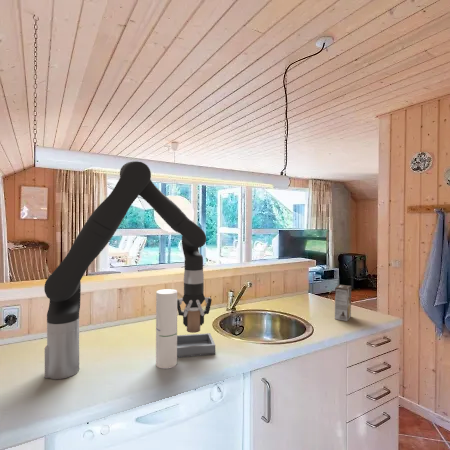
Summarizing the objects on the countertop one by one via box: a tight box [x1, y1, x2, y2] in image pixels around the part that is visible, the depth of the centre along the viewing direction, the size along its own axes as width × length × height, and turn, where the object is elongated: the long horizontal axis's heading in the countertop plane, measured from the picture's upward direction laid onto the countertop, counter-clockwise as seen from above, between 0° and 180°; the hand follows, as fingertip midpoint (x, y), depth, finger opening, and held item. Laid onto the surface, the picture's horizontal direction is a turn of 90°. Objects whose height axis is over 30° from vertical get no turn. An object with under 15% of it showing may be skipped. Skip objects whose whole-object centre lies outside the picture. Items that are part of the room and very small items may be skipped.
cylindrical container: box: [155, 288, 178, 369], centre depth 107 cm, size 7×7×25 cm
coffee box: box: [334, 284, 352, 322], centre depth 159 cm, size 9×6×16 cm
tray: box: [177, 332, 216, 359], centre depth 119 cm, size 15×12×4 cm
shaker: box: [186, 307, 201, 334], centre depth 119 cm, size 5×5×9 cm
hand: (193, 325), depth 119 cm, fingers closed on shaker, 5 cm apart
